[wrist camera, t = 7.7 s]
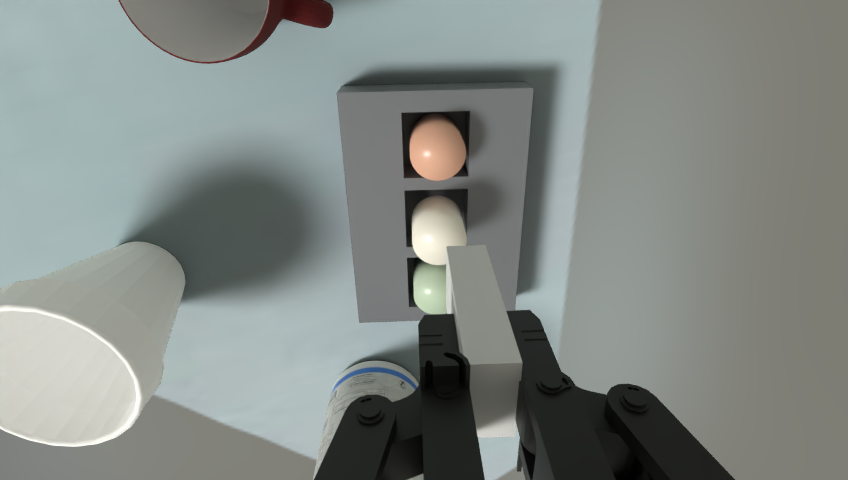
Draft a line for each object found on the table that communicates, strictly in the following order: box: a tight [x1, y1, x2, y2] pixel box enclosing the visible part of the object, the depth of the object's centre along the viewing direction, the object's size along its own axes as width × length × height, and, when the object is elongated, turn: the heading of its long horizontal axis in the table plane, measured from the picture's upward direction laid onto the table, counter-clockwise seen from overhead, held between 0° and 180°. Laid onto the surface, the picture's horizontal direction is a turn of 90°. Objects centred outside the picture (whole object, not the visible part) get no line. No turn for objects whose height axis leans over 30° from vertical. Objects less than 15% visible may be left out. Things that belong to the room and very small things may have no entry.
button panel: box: [337, 82, 534, 323], centre depth 39 cm, size 20×14×3 cm
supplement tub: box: [313, 361, 423, 480], centre depth 44 cm, size 10×10×15 cm
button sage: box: [413, 258, 447, 314], centre depth 41 cm, size 4×4×4 cm
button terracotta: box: [409, 113, 466, 181], centre depth 35 cm, size 4×4×4 cm
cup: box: [0, 241, 186, 447], centre depth 37 cm, size 12×12×14 cm
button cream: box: [412, 196, 467, 265], centre depth 36 cm, size 4×4×4 cm
